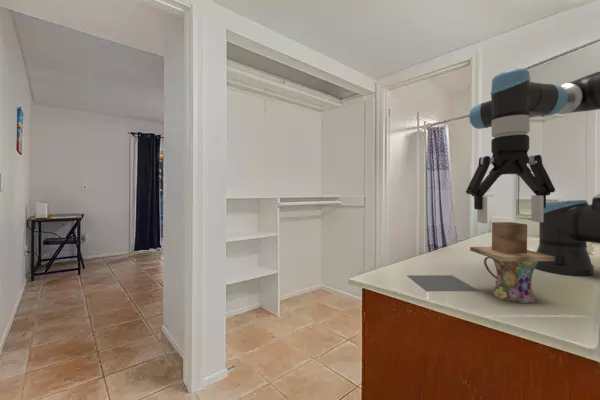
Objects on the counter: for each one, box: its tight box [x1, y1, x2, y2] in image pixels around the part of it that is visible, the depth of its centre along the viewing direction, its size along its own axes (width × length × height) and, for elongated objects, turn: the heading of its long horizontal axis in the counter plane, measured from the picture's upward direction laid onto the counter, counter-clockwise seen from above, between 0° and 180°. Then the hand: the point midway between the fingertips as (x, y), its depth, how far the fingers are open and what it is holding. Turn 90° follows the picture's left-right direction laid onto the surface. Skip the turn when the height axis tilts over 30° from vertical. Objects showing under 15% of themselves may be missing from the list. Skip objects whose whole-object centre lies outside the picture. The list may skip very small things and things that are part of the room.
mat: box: [406, 274, 480, 292], centre depth 81 cm, size 14×14×1 cm
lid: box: [469, 221, 555, 261], centre depth 70 cm, size 12×12×8 cm
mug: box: [483, 256, 538, 304], centre depth 70 cm, size 12×9×11 cm
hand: (509, 222), depth 70 cm, fingers open, 13 cm apart
